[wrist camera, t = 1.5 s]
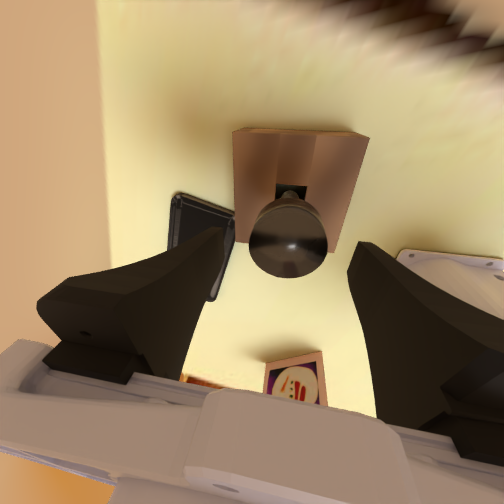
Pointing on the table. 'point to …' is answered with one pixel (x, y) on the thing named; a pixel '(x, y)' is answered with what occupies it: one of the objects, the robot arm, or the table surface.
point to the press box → (295, 173)
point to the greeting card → (297, 379)
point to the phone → (200, 227)
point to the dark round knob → (288, 237)
